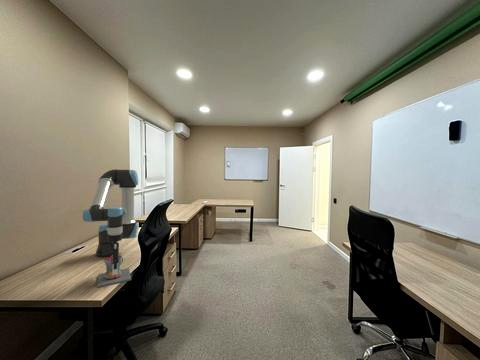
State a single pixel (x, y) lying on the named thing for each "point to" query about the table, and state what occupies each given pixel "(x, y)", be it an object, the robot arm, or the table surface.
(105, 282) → the slate board
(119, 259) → the mug
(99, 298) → the table surface
